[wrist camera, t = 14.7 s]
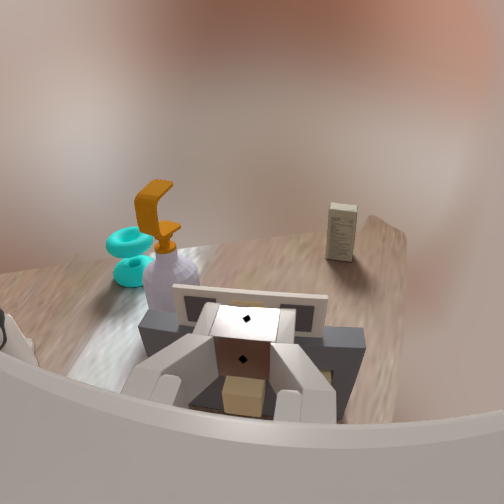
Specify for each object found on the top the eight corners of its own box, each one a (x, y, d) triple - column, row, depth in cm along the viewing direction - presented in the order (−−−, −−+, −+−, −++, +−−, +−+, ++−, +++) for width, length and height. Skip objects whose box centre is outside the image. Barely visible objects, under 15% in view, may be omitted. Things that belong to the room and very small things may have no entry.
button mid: (224, 412, 32) (221, 392, 30) (236, 366, 38) (234, 344, 36) (261, 417, 32) (261, 397, 30) (268, 370, 38) (269, 348, 36)
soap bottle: (214, 314, 56) (201, 177, 44) (182, 346, 49) (156, 198, 37) (175, 299, 60) (156, 171, 48) (143, 326, 53) (111, 190, 41)
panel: (163, 399, 40) (127, 289, 31) (169, 383, 43) (139, 273, 33) (341, 419, 37) (377, 309, 28) (340, 401, 39) (372, 290, 30)
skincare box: (352, 253, 74) (359, 204, 68) (351, 262, 70) (359, 212, 64) (326, 249, 76) (330, 201, 70) (323, 258, 72) (328, 208, 66)
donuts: (108, 227, 65) (152, 221, 67) (118, 267, 70) (159, 261, 72) (100, 249, 57) (150, 243, 59) (112, 292, 62) (158, 287, 64)
